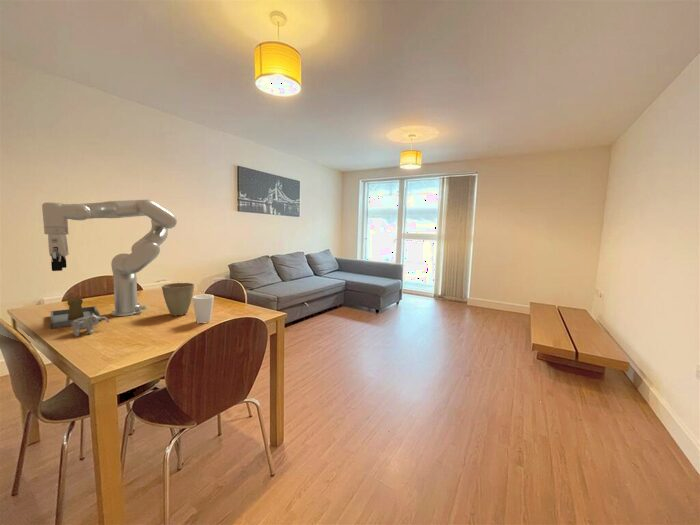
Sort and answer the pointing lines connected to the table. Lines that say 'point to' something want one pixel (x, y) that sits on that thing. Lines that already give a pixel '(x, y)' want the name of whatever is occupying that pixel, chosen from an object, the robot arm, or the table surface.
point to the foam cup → (203, 307)
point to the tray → (61, 316)
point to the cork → (75, 308)
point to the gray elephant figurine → (85, 324)
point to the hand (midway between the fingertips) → (59, 269)
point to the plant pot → (178, 297)
